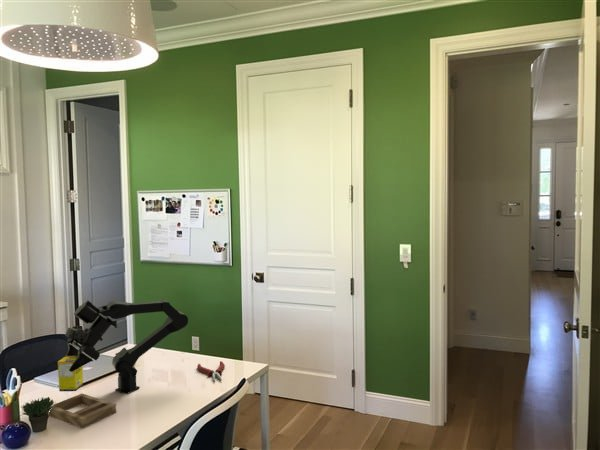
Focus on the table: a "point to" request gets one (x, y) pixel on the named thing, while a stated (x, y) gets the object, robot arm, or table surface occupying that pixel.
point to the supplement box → (69, 375)
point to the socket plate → (82, 410)
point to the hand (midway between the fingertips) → (66, 368)
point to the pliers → (211, 372)
